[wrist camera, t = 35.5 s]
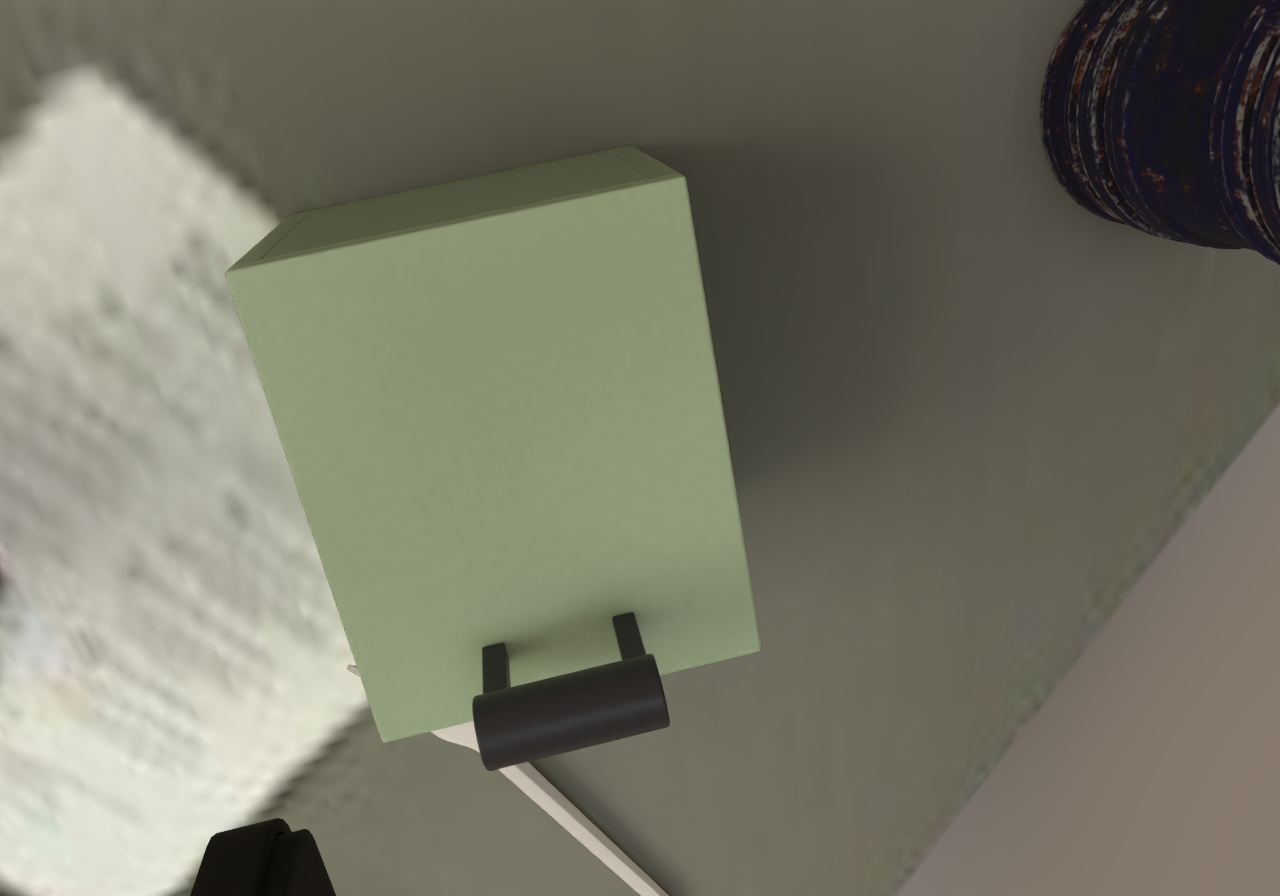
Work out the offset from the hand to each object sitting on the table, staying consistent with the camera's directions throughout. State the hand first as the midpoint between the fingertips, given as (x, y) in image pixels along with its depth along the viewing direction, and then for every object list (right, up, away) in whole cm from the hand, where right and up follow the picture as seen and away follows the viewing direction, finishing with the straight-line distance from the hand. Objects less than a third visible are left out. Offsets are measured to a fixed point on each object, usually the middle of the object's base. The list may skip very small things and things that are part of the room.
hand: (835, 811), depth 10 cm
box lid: (-5, +3, +21) cm, 22 cm away
